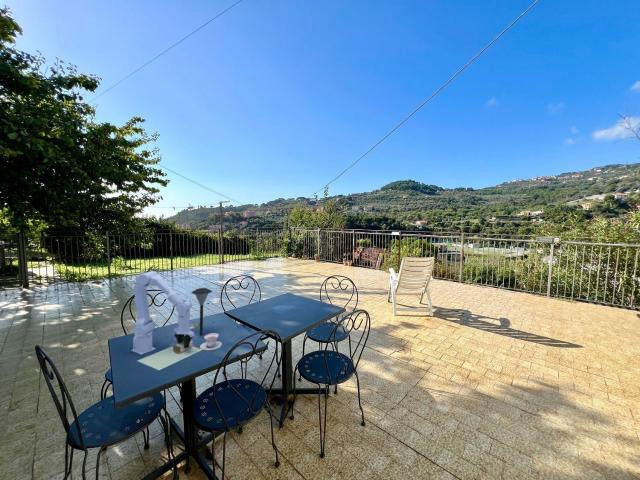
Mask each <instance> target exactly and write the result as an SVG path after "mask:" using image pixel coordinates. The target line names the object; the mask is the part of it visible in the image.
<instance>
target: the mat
mask: <svg viewBox="0 0 640 480" xmlns="http://www.w3.org/2000/svg"><path fill="white" fill-rule="evenodd" d="M173 346H174V345H172V346H169V347H167V348H165V349H163V350H161V351H158V352H155V353H153V354H150V355H148V356H145V357H142V358H140V359H138V360H137V362H139V363H141V364H142V365H146V366H148V367H150V368H153V369H155V370H156V371H161V370H162V369H165V368H167V367H169V366H171V365H174V364H175V363H178V362H180V361H182V360H184V359H186V358H188V357H191V356H192V355H195V354H197V353H199V352H200V351H203V350H202V349H200V347H197V346H193V347H191V348H189V349H187V350H184V351H182V352H180V353H177V352H174V351H173Z"/></svg>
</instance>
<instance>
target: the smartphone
mask: <svg viewBox="0 0 640 480" xmlns="http://www.w3.org/2000/svg"><path fill="white" fill-rule="evenodd" d="M190 324H191V325H192V326H191V327H190V330H191V331H192V330H194V329H197V328H198V327H200V322H192V323H190Z"/></svg>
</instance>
